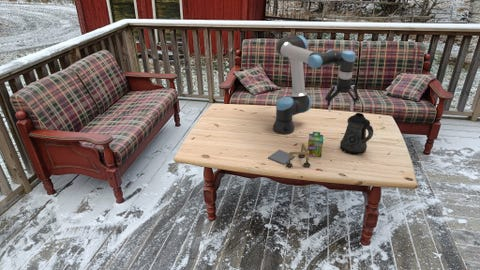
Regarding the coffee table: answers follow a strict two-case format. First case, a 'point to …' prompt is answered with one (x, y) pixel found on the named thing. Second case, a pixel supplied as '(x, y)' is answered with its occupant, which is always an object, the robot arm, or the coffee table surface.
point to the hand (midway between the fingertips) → (340, 110)
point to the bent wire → (300, 155)
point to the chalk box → (315, 144)
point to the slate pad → (280, 157)
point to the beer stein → (356, 135)
